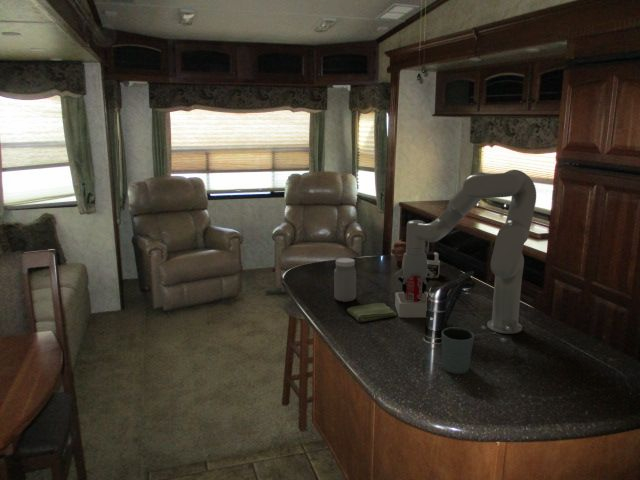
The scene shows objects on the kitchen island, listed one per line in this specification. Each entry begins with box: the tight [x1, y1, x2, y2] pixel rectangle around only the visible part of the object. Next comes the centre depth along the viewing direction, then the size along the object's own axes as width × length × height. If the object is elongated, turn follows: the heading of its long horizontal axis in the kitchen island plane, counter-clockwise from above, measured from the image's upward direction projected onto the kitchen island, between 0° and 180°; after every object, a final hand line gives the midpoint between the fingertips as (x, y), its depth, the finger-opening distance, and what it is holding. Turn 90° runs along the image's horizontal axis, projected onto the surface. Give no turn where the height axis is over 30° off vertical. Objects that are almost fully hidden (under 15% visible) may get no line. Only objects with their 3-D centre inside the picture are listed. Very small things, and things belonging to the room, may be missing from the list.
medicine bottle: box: [426, 251, 441, 279], centre depth 270 cm, size 7×7×12 cm
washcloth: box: [346, 302, 397, 323], centre depth 219 cm, size 13×18×3 cm
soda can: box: [405, 275, 423, 303], centre depth 220 cm, size 7×7×12 cm
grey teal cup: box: [441, 326, 475, 375], centre depth 171 cm, size 10×10×12 cm
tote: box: [394, 291, 429, 318], centre depth 221 cm, size 14×14×6 cm
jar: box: [333, 257, 357, 303], centre depth 236 cm, size 10×10×18 cm
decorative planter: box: [390, 238, 428, 268], centre depth 289 cm, size 20×12×14 cm, turn 105°
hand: (413, 292), depth 220 cm, fingers closed on soda can, 6 cm apart
